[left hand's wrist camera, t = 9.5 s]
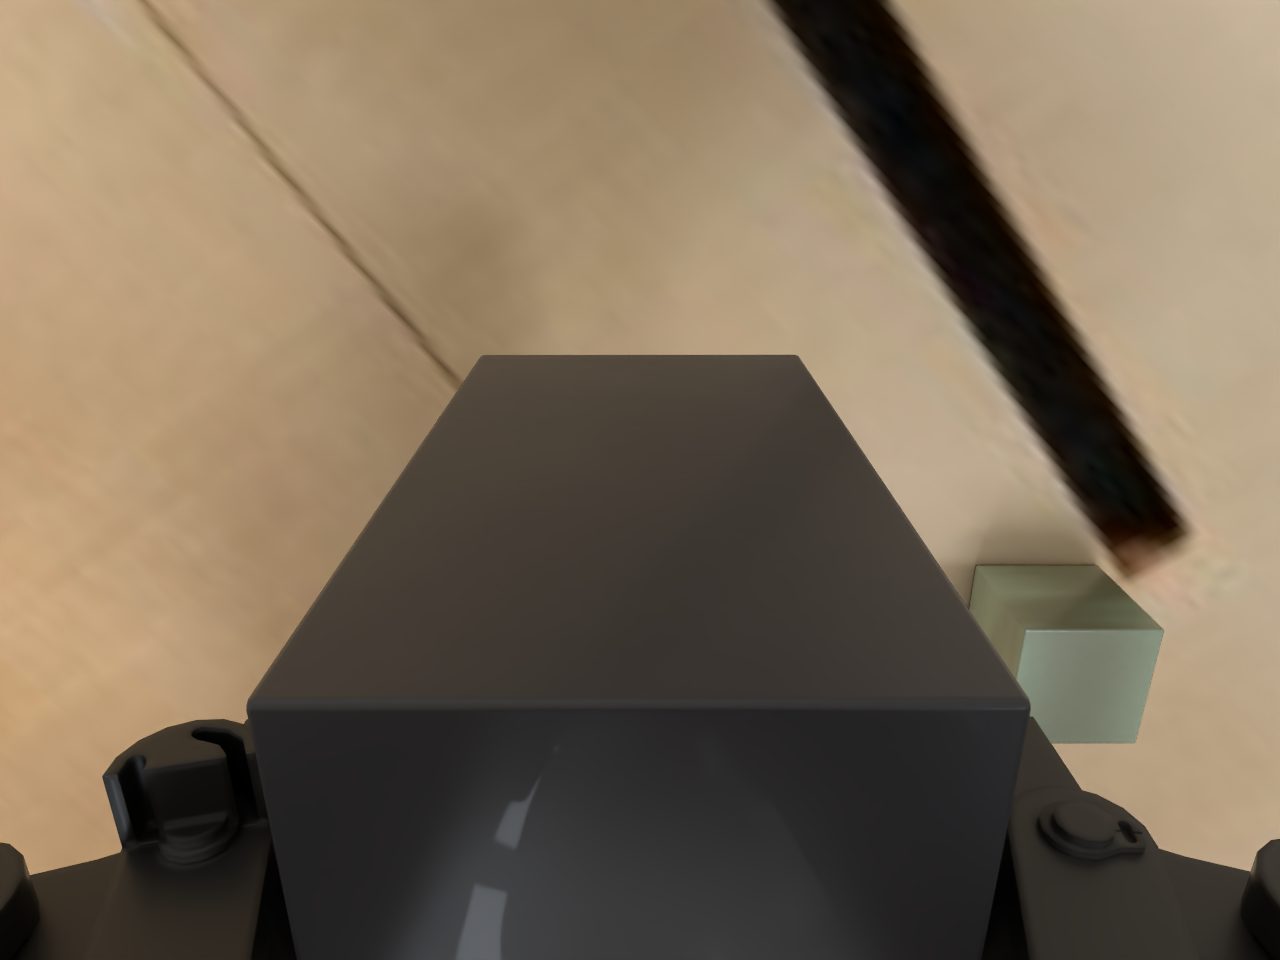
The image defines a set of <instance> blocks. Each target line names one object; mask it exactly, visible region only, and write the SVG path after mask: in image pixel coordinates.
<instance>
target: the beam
mask: <svg viewBox="0 0 1280 960" xmlns="http://www.w3.org/2000/svg"><path fill="white" fill-rule="evenodd" d="M1030 711H1031V704H1030V701H1029V698H1028V696H1027V695H1026V693H1025V692H1024V690H1023V689H1022V687H1021V686H1020V685H1019V683H1018V682H1017V680H1016V679H1015V677H1014V676H1013V674H1012V673H1011V671H1010V670H1009V668H1008V667H1007V665H1006V664H1005V662H1004V661H1003V659H1002V658H1001V656H1000V655H999V653H998V652H997V650H996V649H995V647H994V646H993V644H992V643H991V641H990V640H989V639H988V637H987V636H986V634H985V633H984V631H983V630H982V628H981V627H980V625H979V624H978V622H977V621H976V619H975V618H974V616H973V615H972V613H971V612H970V610H969V609H968V607H967V606H966V604H965V603H964V601H963V600H962V598H961V597H960V595H959V594H958V592H957V591H956V590H955V588H954V587H953V585H952V584H951V582H950V581H949V579H948V578H947V576H946V575H945V573H944V572H943V570H942V569H941V567H940V566H939V564H938V563H937V561H936V560H935V558H934V557H933V555H932V554H931V552H930V551H929V549H928V548H927V546H926V545H925V544H924V542H923V541H922V539H921V538H920V536H919V535H918V533H917V532H916V530H915V529H914V527H913V526H912V524H911V523H910V521H909V520H908V518H907V517H906V515H905V514H904V512H903V511H902V509H901V508H900V506H899V505H898V503H897V502H896V500H895V499H894V498H893V496H892V495H891V493H890V492H889V490H888V489H887V487H886V486H885V484H884V483H883V481H882V480H881V478H880V477H879V475H878V474H877V472H876V471H875V469H874V468H873V466H872V465H871V463H870V462H869V460H868V459H867V457H866V456H865V454H864V453H863V452H862V450H861V449H860V447H859V446H858V444H857V443H856V441H855V440H854V438H853V437H852V435H851V434H850V432H849V431H848V429H847V428H846V426H845V425H844V423H843V422H842V420H841V419H840V417H839V416H838V414H837V413H836V411H835V410H834V408H833V407H832V406H831V404H830V403H829V401H828V400H827V398H826V397H825V395H824V394H823V392H822V391H821V389H820V388H819V386H818V385H817V383H816V382H815V380H814V379H813V377H812V376H811V374H810V373H809V371H808V370H807V368H806V367H805V365H804V364H803V362H802V361H801V360H800V358H799V357H798V356H797V355H483V356H481V357H480V358H479V360H478V361H477V363H476V364H475V366H474V367H473V369H472V370H471V372H470V373H469V375H468V376H467V378H466V379H465V381H464V382H463V384H462V385H461V386H460V388H459V389H458V391H457V392H456V394H455V395H454V397H453V398H452V400H451V401H450V403H449V404H448V406H447V407H446V409H445V410H444V412H443V413H442V414H441V416H440V417H439V419H438V420H437V422H436V423H435V425H434V426H433V428H432V429H431V431H430V432H429V434H428V435H427V437H426V438H425V440H424V441H423V442H422V444H421V445H420V447H419V448H418V450H417V451H416V453H415V454H414V456H413V457H412V459H411V460H410V462H409V463H408V465H407V466H406V468H405V469H404V470H403V472H402V473H401V475H400V476H399V478H398V479H397V481H396V482H395V484H394V485H393V487H392V488H391V490H390V491H389V493H388V494H387V496H386V497H385V498H384V500H383V501H382V503H381V504H380V506H379V507H378V509H377V510H376V512H375V513H374V515H373V516H372V518H371V519H370V521H369V522H368V524H367V525H366V526H365V528H364V529H363V531H362V532H361V534H360V535H359V537H358V538H357V540H356V541H355V543H354V544H353V546H352V547H351V549H350V550H349V552H348V553H347V554H346V556H345V557H344V559H343V560H342V562H341V563H340V565H339V566H338V568H337V569H336V571H335V572H334V574H333V575H332V577H331V578H330V580H329V581H328V582H327V584H326V585H325V587H324V588H323V590H322V591H321V593H320V594H319V596H318V597H317V599H316V600H315V602H314V603H313V605H312V606H311V608H310V609H309V610H308V612H307V613H306V615H305V616H304V618H303V619H302V621H301V622H300V624H299V625H298V627H297V628H296V630H295V631H294V633H293V634H292V636H291V637H290V638H289V640H288V641H287V643H286V644H285V646H284V647H283V649H282V650H281V652H280V653H279V655H278V656H277V658H276V659H275V661H274V662H273V663H272V665H271V666H270V668H269V669H268V671H267V672H266V674H265V675H264V677H263V678H262V680H261V681H260V683H259V684H258V686H257V687H256V689H255V690H254V691H253V693H252V694H251V696H250V697H249V699H248V702H247V715H248V720H249V725H250V730H251V735H252V740H253V745H254V750H255V755H256V760H257V764H258V769H259V774H260V779H261V784H262V789H263V794H264V799H265V804H266V809H267V814H268V819H269V824H270V829H271V834H272V839H273V844H274V849H275V854H276V859H277V864H278V869H279V874H280V878H281V883H282V888H283V893H284V898H285V903H286V908H287V913H288V918H289V923H290V928H291V933H292V938H293V943H294V948H295V953H296V958H297V960H981V959H982V954H983V948H984V943H985V938H986V933H987V928H988V923H989V918H990V913H991V908H992V903H993V898H994V893H995V888H996V883H997V878H998V873H999V868H1000V862H1001V857H1002V852H1003V847H1004V842H1005V837H1006V832H1007V827H1008V822H1009V817H1010V812H1011V807H1012V802H1013V797H1014V792H1015V787H1016V782H1017V776H1018V771H1019V766H1020V761H1021V756H1022V751H1023V746H1024V741H1025V736H1026V731H1027V726H1028V721H1029V716H1030Z"/></svg>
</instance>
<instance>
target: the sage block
mask: <svg viewBox="0 0 1280 960" xmlns="http://www.w3.org/2000/svg"><path fill="white" fill-rule="evenodd" d="M969 610H970V612H971V613H972V615H973V616H974V618H975V619H976V621H977V622H978V624H979V625H980V627H981V628H982V630H983V631H984V633H985V634H986V636H987V637H988V639H989V640H990V641H991V643H992V644H993V646H994V647H995V649H996V650H997V652H998V653H999V655H1000V656H1001V658H1002V659H1003V661H1004V662H1005V664H1006V665H1007V667H1008V668H1009V670H1010V671H1011V673H1012V674H1013V676H1014V677H1015V679H1016V680H1017V682H1018V683H1019V685H1020V686H1021V687H1022V689H1023V690H1024V692H1025V693H1026V695H1027V696H1028V698H1029V701H1030V704H1031V711H1030V716H1033V717H1034V719H1035V720H1036V722H1037V723H1038V725H1039V726H1040V728H1041V729H1042V731H1043V732H1044V734H1045V735H1046V737H1047V738H1048V740H1049V741H1050V743H1135V742H1136V738H1137V734H1138V730H1139V726H1140V722H1141V718H1142V714H1143V711H1144V707H1145V703H1146V699H1147V695H1148V691H1149V687H1150V683H1151V679H1152V675H1153V672H1154V668H1155V664H1156V660H1157V656H1158V652H1159V648H1160V644H1161V640H1162V636H1163V632H1164V630H1163V628H1162V627H1161V626H1160V625H1159V624H1158V623H1157V622H1156V621H1155V620H1153V619H1152V618H1151V617H1150V616H1149V615H1148V614H1147V613H1146V612H1145V611H1144V610H1143V609H1142V608H1141V607H1140V606H1139V605H1138V604H1137V603H1136V602H1135V601H1134V600H1133V599H1132V598H1131V597H1130V596H1129V595H1128V594H1127V593H1126V592H1125V591H1123V590H1122V589H1121V588H1120V587H1119V586H1118V585H1117V584H1116V583H1115V582H1114V581H1113V580H1112V579H1111V578H1110V577H1109V576H1108V575H1107V574H1106V573H1105V572H1104V571H1103V570H1102V569H1101V568H1100V567H1099V566H1097V565H977V566H976V569H975V576H974V582H973V588H972V594H971V601H970V607H969Z"/></svg>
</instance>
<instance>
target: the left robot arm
mask: <svg viewBox="0 0 1280 960" xmlns="http://www.w3.org/2000/svg"><path fill="white" fill-rule="evenodd" d="M102 777H103V781H104V784H105V788H106V792H107V795H108V799H109V802H110V806H111V809H112V813H113V816H114V820H115V823H116V827H117V830H118V834H119V837H120V841H121V844H122V850H121V853H117V854H114V855H111V856H107V857H104V858H101V859H98V860H94V861H89V862H85V863H81V864H76V865H72V866H68V867H64V868H59V869H55V870H51V871H46V872H42V873H38V874H34V875H30V874H29V871H28V868H27V866H26V863H25V860H24V857H23V855H22V854H21V853H20V852H18V851H17V850H16V849H15V848H14V847H13V846H11V845H10V844H6V843H0V960H297V958H296V953H295V948H294V943H293V938H292V933H291V928H290V923H289V918H288V913H287V908H286V903H285V898H284V893H283V888H282V883H281V878H280V874H279V869H278V864H277V859H276V854H275V849H274V844H273V839H272V834H271V829H270V824H269V819H268V814H267V809H266V804H265V799H264V794H263V789H262V784H261V779H260V774H259V769H258V764H257V760H256V755H255V750H254V745H253V740H252V735H251V730H250V725H249V720H248V719H247V720H246V721H245V723H244V724H241V723H237V722H233V721H229V720H225V719H215V720H195V721H191V722H187V723H183V724H179V725H175V726H171V727H167V728H165V729H163V730H161V731H158V732H156V733H154V734H152V735H150V736H148V737H145V738H143V739H141V740H139V741H138V742H136V743H135V744H134V745H132V746H131V747H130V748H128V749H127V750H126V751H124V752H123V753H122V754H120V755H119V756H117V757H116V758H115V760H114V761H113V763H112V764H111V765H110V767H109V768H108V769H107V771H106V772H105V773H104V775H103V776H102ZM981 960H1280V839H1276V840H1271V841H1269V842H1268V843H1267V844H1266V845H1265V846H1264V847H1262V848H1261V849H1260V850H1259V851H1258V852H1257V854H1256V857H1255V860H1254V863H1253V866H1252V869H1251V872H1249V871H1245V870H1241V869H1236V868H1232V867H1228V866H1223V865H1219V864H1215V863H1210V862H1206V861H1202V860H1197V859H1193V858H1189V857H1184V856H1181V855H1178V854H1174V853H1171V852H1168V851H1165V850H1161V849H1158V846H1157V845H1156V843H1155V842H1154V840H1153V838H1152V837H1151V835H1150V834H1149V832H1148V831H1147V829H1146V827H1145V826H1144V825H1143V824H1141V823H1140V822H1139V821H1138V820H1137V819H1135V818H1134V817H1133V816H1132V815H1131V814H1130V813H1128V812H1127V811H1126V810H1125V809H1124V808H1122V807H1120V806H1118V805H1116V804H1114V803H1112V802H1110V801H1108V800H1106V799H1104V798H1103V797H1101V796H1099V795H1097V794H1093V793H1090V792H1086V791H1083V790H1081V788H1080V787H1079V785H1078V784H1077V782H1076V781H1075V779H1074V778H1073V776H1072V775H1071V773H1070V772H1069V770H1068V768H1067V767H1066V765H1065V764H1064V762H1063V761H1062V759H1061V758H1060V756H1059V755H1058V753H1057V752H1056V750H1055V749H1054V747H1053V746H1052V744H1051V743H1050V741H1049V740H1048V738H1047V737H1046V735H1045V734H1044V732H1043V731H1042V729H1041V728H1040V726H1039V725H1038V723H1037V722H1036V720H1035V719H1034V717H1033V716H1029V721H1028V726H1027V731H1026V736H1025V741H1024V746H1023V751H1022V756H1021V761H1020V766H1019V771H1018V776H1017V782H1016V787H1015V792H1014V797H1013V802H1012V807H1011V812H1010V817H1009V822H1008V827H1007V832H1006V837H1005V842H1004V847H1003V852H1002V857H1001V862H1000V868H999V873H998V878H997V883H996V888H995V893H994V898H993V903H992V908H991V913H990V918H989V923H988V928H987V933H986V938H985V943H984V948H983V954H982V959H981Z"/></svg>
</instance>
